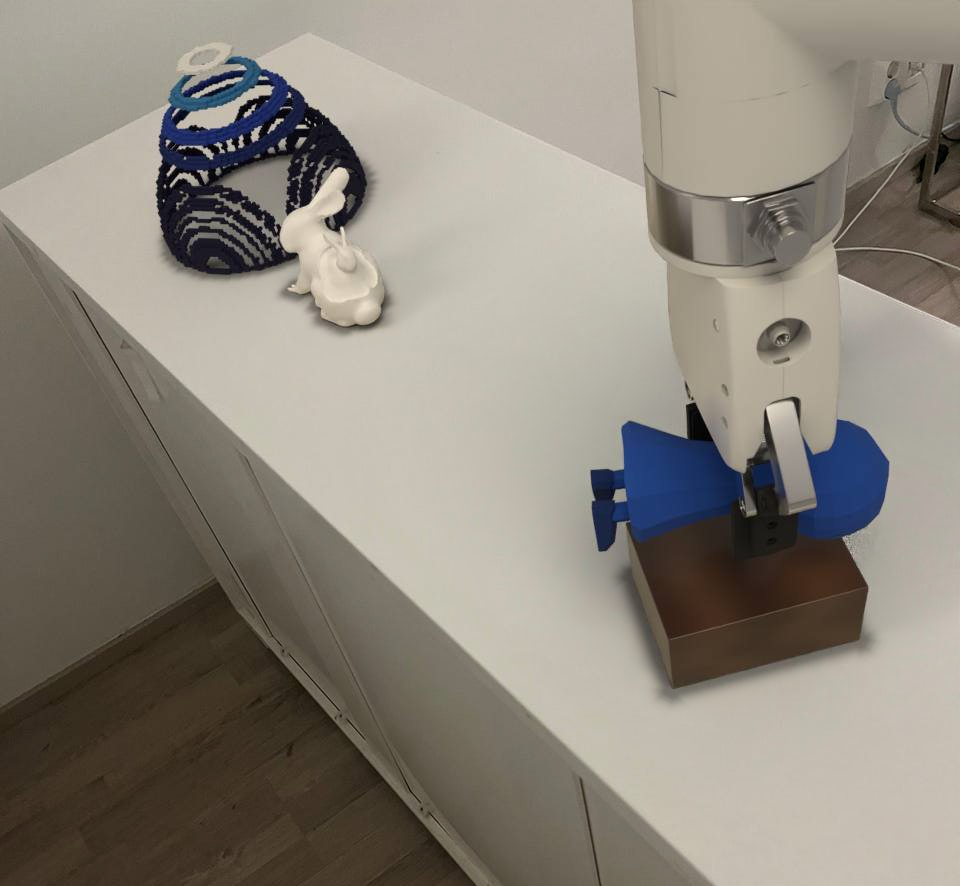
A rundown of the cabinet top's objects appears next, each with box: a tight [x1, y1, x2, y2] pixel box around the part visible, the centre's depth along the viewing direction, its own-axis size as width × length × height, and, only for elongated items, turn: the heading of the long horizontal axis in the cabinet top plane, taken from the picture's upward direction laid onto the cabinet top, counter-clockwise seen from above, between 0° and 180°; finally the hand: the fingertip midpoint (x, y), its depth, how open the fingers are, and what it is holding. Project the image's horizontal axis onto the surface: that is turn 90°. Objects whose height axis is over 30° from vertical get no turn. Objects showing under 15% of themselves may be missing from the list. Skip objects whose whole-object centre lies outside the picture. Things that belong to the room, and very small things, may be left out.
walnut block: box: [625, 514, 869, 689], centre depth 58 cm, size 11×9×5 cm
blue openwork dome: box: [154, 41, 368, 275], centre depth 92 cm, size 20×20×14 cm
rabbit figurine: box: [280, 167, 386, 327], centre depth 83 cm, size 12×8×10 cm, turn 35°
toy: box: [589, 418, 890, 553], centre depth 51 cm, size 7×6×15 cm
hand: (739, 498), depth 53 cm, fingers closed on toy, 6 cm apart
